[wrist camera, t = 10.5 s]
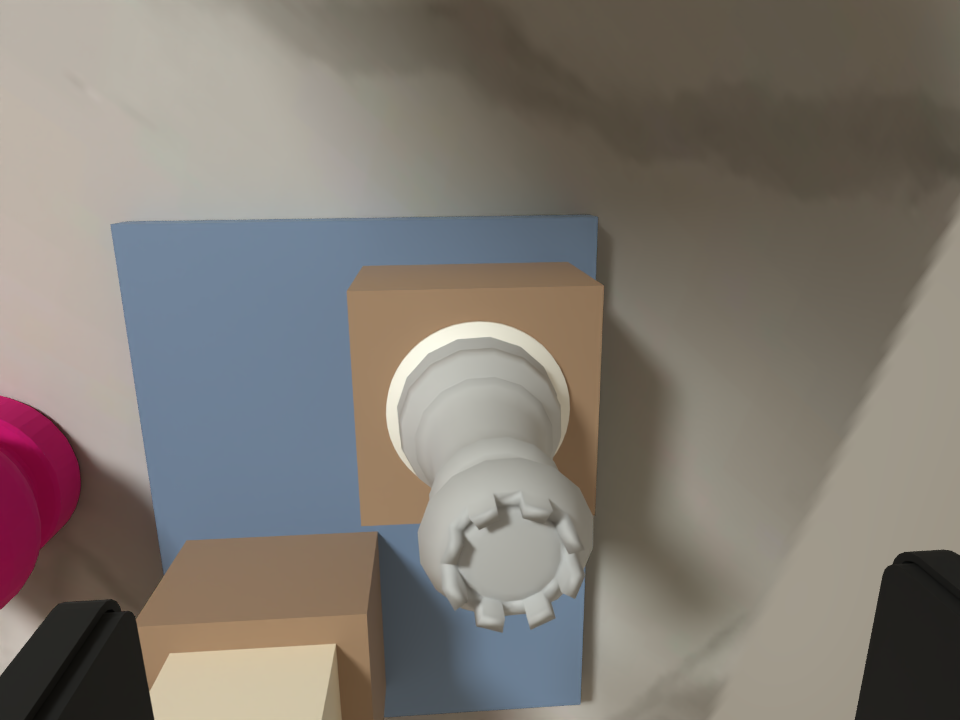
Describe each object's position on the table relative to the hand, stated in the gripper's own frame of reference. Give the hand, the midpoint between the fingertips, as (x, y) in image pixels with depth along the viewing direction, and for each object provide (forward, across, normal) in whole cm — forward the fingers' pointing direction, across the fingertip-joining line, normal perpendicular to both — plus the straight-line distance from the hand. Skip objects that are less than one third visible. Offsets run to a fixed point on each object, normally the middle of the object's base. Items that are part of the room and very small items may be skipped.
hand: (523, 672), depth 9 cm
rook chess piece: (+11, 0, +1) cm, 11 cm away
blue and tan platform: (+17, +3, +6) cm, 19 cm away
